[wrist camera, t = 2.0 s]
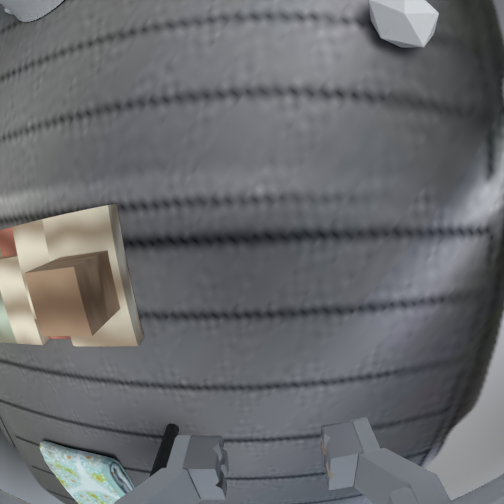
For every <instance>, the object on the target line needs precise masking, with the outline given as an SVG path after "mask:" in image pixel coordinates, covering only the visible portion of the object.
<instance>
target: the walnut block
mask: <svg viewBox="0 0 504 504" xmlns="http://www.w3.org/2000/svg"><path fill="white" fill-rule="evenodd" d="M24 274H25V278H26V282H27V286H28V290H29V294H30V298H31V301H32V305H33V308H34V311H35V315H36V318H37V321H38V324H39V327H40V330H41V333H42V336H93V335H94V334H95V333H96V332H97V331H98V330H99V329H100V328H101V327H102V326H103V325H104V324H105V323H106V322H107V321H108V320H109V319H110V318H111V317H112V316H113V315H114V314H115V313H116V312H117V311H119V310H120V305H119V301H118V297H117V292H116V288H115V284H114V279H113V275H112V270H111V265H110V260H109V255H108V250H107V251H100V252H93V253H86V254H79V255H72V256H65V257H60V258H58V259H55V260H53V261H51V262H48V263H46V264H44V265H41V266H39V267H37V268H35V269H32V270H30V271H28V272H26V273H24Z"/></svg>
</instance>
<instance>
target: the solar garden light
mask: <svg viewBox="0 0 504 504" xmlns="http://www.w3.org/2000/svg"><path fill="white" fill-rule="evenodd" d="M178 431H179V428H178V426H176V425H175V424H169V425H168V426H167V428H166V431H165V433H164V436H163V439H162V442H161V445H160V448H159V451H158V454H157V457H156V459H155V462H154V465H153V468H152V471H151V474H150V477H151V476H152V475H153V474H155V473H156V472H157V471H159V470H160V469H161V468H166V467H167V464H168V460H169V457H170V454H171V450H172V447H173V444H174V440H175V438H176V437H177V434H178Z"/></svg>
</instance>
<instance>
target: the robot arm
mask: <svg viewBox="0 0 504 504" xmlns="http://www.w3.org/2000/svg"><path fill="white" fill-rule="evenodd" d="M63 1H64V0H0V4H1V5H2V6H4V7H5V12H6V13H7V14H14V15H15V16H16V18H17V19H18V20H20V21H22V22H29V21H33V20H36V19H38V18H40V17H42V16H44V15H46V14H47V13H49V12H50V11H52V10H53V9H54V8H56V7H57V6H58V5H59V4H60V3H61V2H63ZM321 436H322V442H321V455H322V461H323V466H324V467H325V468H326V480H327V485H328V489H329V490H333V489H339V488H345V487H350V486H354V487H355V488H356V489H357V490H358V491H360V492H361V493H362V494H363V495H364V496H366V497H367V498H368V499H369V500H371V501H372V502H373V503H375V504H504V474H502V475H501V476H499V477H497V478H496V479H494V480H492V481H490V482H488V483H487V484H485V485H483V486H481V487H479V488H477V489H475V490H473V491H471V492H469V493H467V494H465V495H463V496H461V497H458V498H456V499H454V500H452V501H451V500H450V498H449V497H448V495H447V493H446V491H445V489H444V487H443V485H442V483H441V481H440V479H439V477H438V476H437V475H436V474H434V473H432V472H430V471H428V470H426V469H424V468H422V467H420V466H418V465H416V464H414V463H412V462H410V461H408V460H406V459H405V458H403V457H401V456H399V455H397V454H395V453H393V452H391V451H390V450H388V449H386V448H381V449H380V447H379V445H378V442H377V440H376V438H375V435H374V433H373V431H372V428H371V426H370V424H369V422H368V419H367V418H366V417H363V418H359V419H354V420H351V421H350V420H349V421H345V422H339V423H334V424H329V425H323V426H321ZM223 446H224V442H223V438H222V436H203V435H192V436H190V435H177V437H176V438H175V440H174V444H173V447H172V450H171V454H170V457H169V460H168V464H167V467H166V468H161V469H160V470H159V471H157V472H156V473H155V474H153V475H152V476H151V477H149V478H148V479H147V480H145V481H144V482H142V483H141V484H140V485H138V486H137V487H136V488H134V489H133V490H131V491H130V492H128V493H127V494H126V495H124V496H123V497H121V498H120V499H118V500H117V501H115V502H114V504H198V503H199V502H200V501H201V500H200V499H226V492H227V483H226V480H225V478H226V477H227V476H228V470H229V467H228V456H227V452H226V451H225V450H224V449H223ZM0 504H30V503H28V502H26V501H23V500H21V499H19V498H17V497H15V496H13V495H10V494H8V493H6V492H4V491H2V490H1V489H0Z"/></svg>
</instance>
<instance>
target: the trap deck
mask: <svg viewBox="0 0 504 504" xmlns="http://www.w3.org/2000/svg"><path fill="white" fill-rule="evenodd" d="M107 250H108V255H109V260H110V265H111V270H112V275H113V279H114V284H115V288H116V292H117V297H118V301H119V305H120V310H119V311H117V312H116V313H115V314H114V315H113V316H112V317H111V318H110V319H109V320H108V321H107V322H106V323H105V324H104V325H103V326H102V327H101V328H100V329H99V330H98V331H97V332H96V333H95V334H94V335H93V336H42V333H41V330H40V327H39V324H38V321H37V318H36V315H35V311H34V308H33V305H32V301H31V298H30V294H29V290H28V286H27V282H26V278H25V274H24V273H26V272H28V271H30V270H32V269H35V268H37V267H39V266H41V265H44V264H46V263H48V262H51V261H53V260H55V259H58V258H60V257H65V256H72V255H79V254H86V253H93V252H100V251H107ZM143 338H144V334H143V331H142V327H141V323H140V319H139V315H138V311H137V307H136V302H135V298H134V294H133V289H132V285H131V280H130V275H129V270H128V265H127V260H126V255H125V250H124V244H123V239H122V233H121V227H120V220H119V214H118V207H117V204H111V205H106V206H101V207H96V208H91V209H86V210H81V211H77V212H72V213H67V214H63V215H58V216H54V217H50V218H46V219H41V220H37V221H33V222H29V223H25V224H21V225H17V226H13V227H10V228H6V229H3V230H0V342H5V343H18V344H34V345H43V344H44V343H46V342H47V341H48V340H49V339H71V340H72V343H73V346H138V345H139V344H140V342H141V341H142V339H143Z"/></svg>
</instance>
